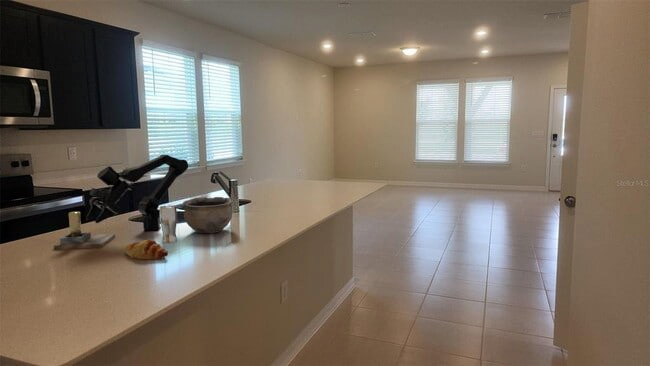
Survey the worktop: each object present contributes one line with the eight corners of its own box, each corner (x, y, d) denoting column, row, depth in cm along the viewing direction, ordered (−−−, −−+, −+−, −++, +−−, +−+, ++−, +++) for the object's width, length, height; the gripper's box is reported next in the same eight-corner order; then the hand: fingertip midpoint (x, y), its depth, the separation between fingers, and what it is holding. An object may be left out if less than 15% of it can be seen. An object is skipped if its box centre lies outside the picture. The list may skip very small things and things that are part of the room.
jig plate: (115, 237, 184) (114, 228, 184) (102, 247, 168) (101, 237, 168) (71, 238, 181) (70, 229, 181) (53, 249, 165) (53, 239, 165)
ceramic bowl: (239, 227, 204) (238, 197, 202) (224, 238, 183) (223, 205, 181) (195, 225, 206) (194, 196, 204) (175, 237, 185) (174, 204, 183)
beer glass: (180, 239, 182) (179, 205, 180) (173, 243, 175) (172, 208, 173) (165, 238, 182) (164, 205, 180) (157, 243, 175) (156, 208, 173)
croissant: (120, 263, 160) (110, 248, 155) (138, 245, 167) (129, 230, 163) (162, 269, 152) (153, 254, 147) (179, 250, 159) (171, 235, 155)
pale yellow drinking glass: (84, 240, 173) (82, 212, 172) (75, 242, 170) (73, 213, 168) (76, 239, 175) (74, 211, 173) (68, 241, 171) (66, 213, 169)
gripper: (92, 179, 184) (66, 207, 177) (111, 182, 172) (84, 213, 165) (112, 194, 191) (88, 221, 184) (131, 198, 179) (106, 228, 172)
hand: (91, 221), depth 176 cm, fingers open, 9 cm apart
